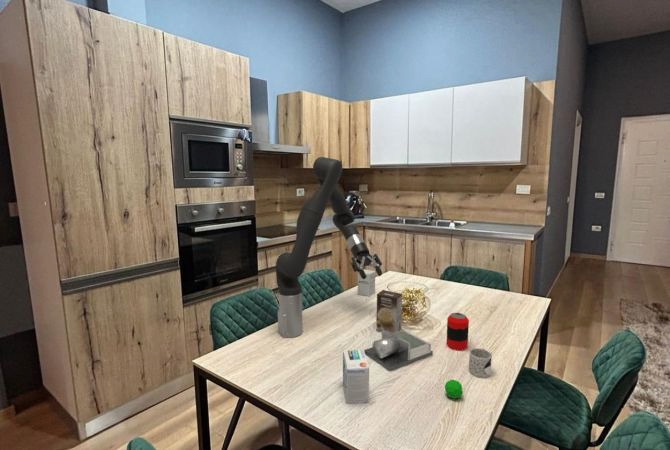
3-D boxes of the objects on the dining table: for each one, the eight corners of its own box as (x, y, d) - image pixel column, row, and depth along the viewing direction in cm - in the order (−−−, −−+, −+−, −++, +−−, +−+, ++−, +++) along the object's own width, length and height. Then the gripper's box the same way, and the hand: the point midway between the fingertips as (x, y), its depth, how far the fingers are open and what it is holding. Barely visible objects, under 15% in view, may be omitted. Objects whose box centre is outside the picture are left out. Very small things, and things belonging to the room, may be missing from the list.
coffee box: (375, 331, 147) (375, 293, 145) (381, 325, 152) (382, 289, 150) (396, 336, 142) (396, 297, 140) (402, 330, 147) (402, 293, 145)
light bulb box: (342, 382, 111) (342, 350, 109) (363, 381, 111) (363, 349, 110) (346, 404, 100) (346, 368, 99) (369, 403, 101) (370, 367, 99)
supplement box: (357, 294, 192) (357, 272, 190) (363, 290, 198) (363, 268, 196) (369, 297, 188) (369, 273, 186) (375, 293, 194) (375, 270, 192)
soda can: (467, 343, 136) (468, 313, 134) (467, 352, 129) (469, 320, 127) (446, 340, 139) (447, 310, 137) (446, 349, 132) (447, 318, 130)
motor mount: (389, 371, 117) (390, 350, 116) (364, 353, 128) (364, 334, 127) (432, 355, 127) (433, 335, 126) (405, 340, 139) (405, 321, 138)
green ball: (458, 391, 106) (459, 376, 105) (465, 401, 101) (465, 386, 100) (442, 391, 106) (442, 376, 105) (447, 402, 101) (448, 386, 100)
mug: (488, 380, 111) (489, 360, 110) (466, 374, 115) (467, 355, 114) (493, 366, 120) (494, 347, 119) (472, 360, 123) (473, 342, 122)
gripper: (348, 243, 155) (363, 274, 147) (373, 240, 163) (389, 269, 155) (341, 253, 160) (356, 283, 152) (366, 249, 168) (381, 278, 160)
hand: (373, 276), depth 154 cm, fingers open, 8 cm apart
